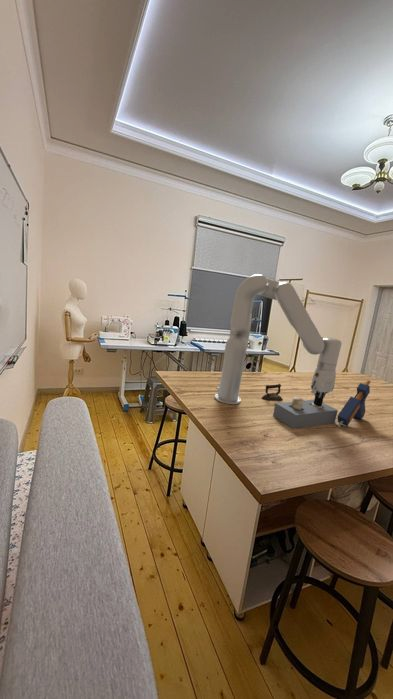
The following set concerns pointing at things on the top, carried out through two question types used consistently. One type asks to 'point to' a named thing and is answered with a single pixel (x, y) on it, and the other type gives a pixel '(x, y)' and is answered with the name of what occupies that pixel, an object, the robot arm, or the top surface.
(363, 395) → the glue gun
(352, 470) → the top surface
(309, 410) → the block
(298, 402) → the dowel
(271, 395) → the clothes iron
